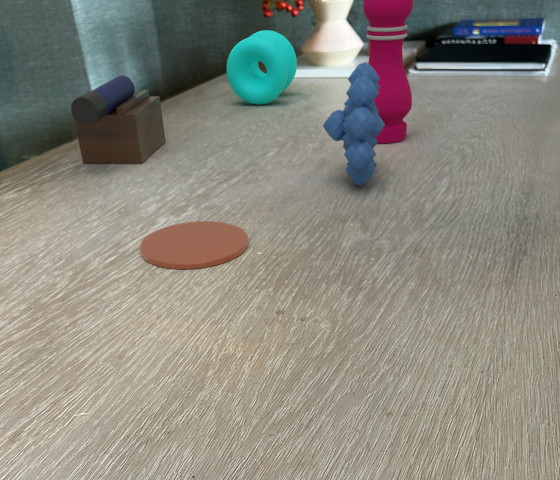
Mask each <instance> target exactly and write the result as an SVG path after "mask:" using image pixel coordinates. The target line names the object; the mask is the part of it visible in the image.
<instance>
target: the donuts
mask: <svg viewBox="0 0 560 480" xmlns="http://www.w3.org/2000/svg"><path fill="white" fill-rule="evenodd" d="M259 62H261V63H262V64H263V65H264V67H265V69H266V73H265V72H263V71H262V70H261V69H260V66H259ZM297 66H298V59H297V55H296V51H295V49H294V46H293V45H292V44H291V42H290V41H289V39H288V38H286V37H285V36H284V35H283V34H281V33H280V32H277V31H276V30H270V29H269V30H268V29H264V30H259V31H256V32H254V33H253V34H251V35H249V36H248V37H246V38H244V39H242V40H240V41H239V42H237V43H236V44H235V45H234V47H233V48H232V49H231V51H230V53H229V55H228V58H227V61H226V78H227V81H228V83H229V86H230V88H231V90H232V91H233V92H234V94H235V95H236V96H237V97H238V98H240V100H242V101H244V102H246V103H247V104H251V105H257V106H258V105H260V106H261V105H267V104H269V103H271V102H273V101H274V100H276V99H277V98H278V97H279V96H281V94H282V93H283V91H285V90H287V89H288V87H289V86H291V84H292V83H293V80H294V79H295V76H296V73H297Z"/></svg>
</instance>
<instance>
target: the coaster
mask: <svg viewBox="0 0 560 480" xmlns="http://www.w3.org/2000/svg"><path fill="white" fill-rule="evenodd" d="M248 237H249V236H248V234H247V232H246V231H245V230H243V229H242V228H240V227H239V226H237V225H234V224H231V223H228V222H227V223H226V222H222V221H211V220H199V221H188V222H180V223H176V224H171V225H167V226H165V227H162V228H160V229H157V230H156V231H152V232H151V233H149V234H148V235H147V236H146V237H144V238H143V240H142V241H141V243H140V244H139V245H140V246H139V251H140V255H141V257H142V258H143V259H144V260H145V261H146V262H148V264H149V263H150V264H152V265H153V266H156V267H159V268H166V269H172V270H173V269H174V270H194V269H195V270H197V269H203V268H210V267H213V266H217V265H221V264H225V263H227V262H229V261H232V260H234V259H236V258H237V257H240V255H242V254H243V253H244V252H245V251H246V250H247V249H248V246H249V238H248Z"/></svg>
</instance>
